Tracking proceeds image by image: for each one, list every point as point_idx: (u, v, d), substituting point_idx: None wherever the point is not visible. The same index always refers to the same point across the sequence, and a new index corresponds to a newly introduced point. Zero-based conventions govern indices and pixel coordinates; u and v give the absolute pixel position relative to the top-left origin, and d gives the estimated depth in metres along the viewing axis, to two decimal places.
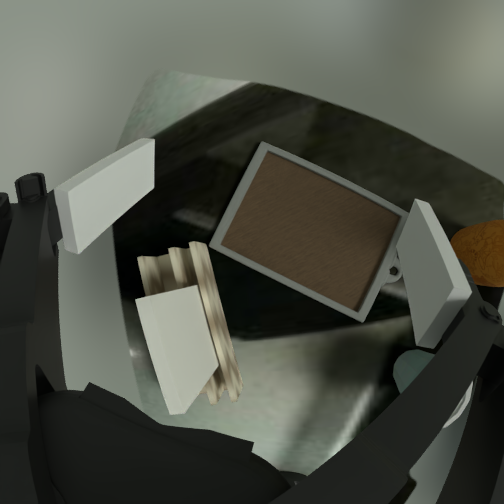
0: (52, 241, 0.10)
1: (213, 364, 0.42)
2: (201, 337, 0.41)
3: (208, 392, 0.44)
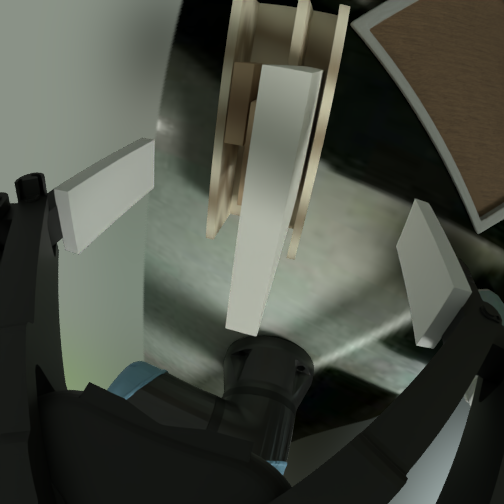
0: (52, 241, 0.10)
1: (294, 203, 0.27)
2: (303, 159, 0.23)
3: None
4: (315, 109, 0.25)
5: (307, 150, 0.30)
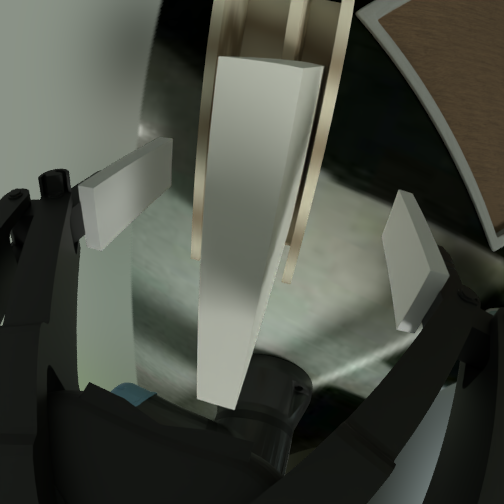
0: (74, 238, 0.11)
1: (289, 225, 0.23)
2: (299, 176, 0.19)
3: None
4: (315, 112, 0.21)
5: None
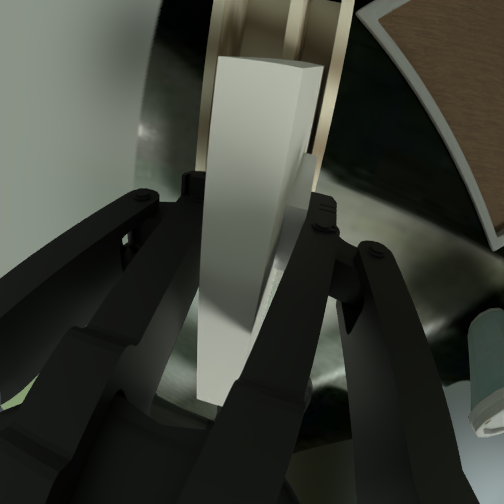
0: None
1: None
2: None
3: None
4: None
5: None
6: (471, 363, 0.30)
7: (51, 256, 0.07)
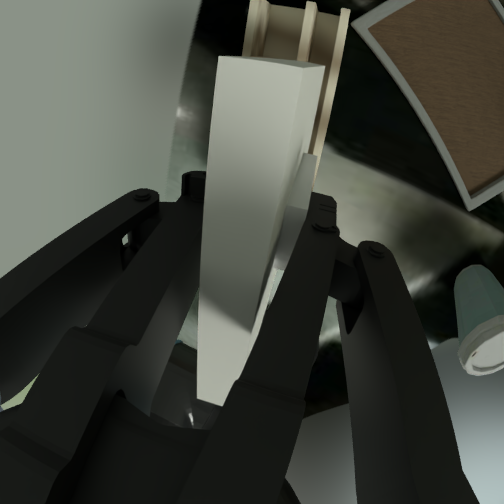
0: None
1: None
2: None
3: None
4: None
5: None
6: (457, 310, 0.38)
7: (51, 256, 0.07)
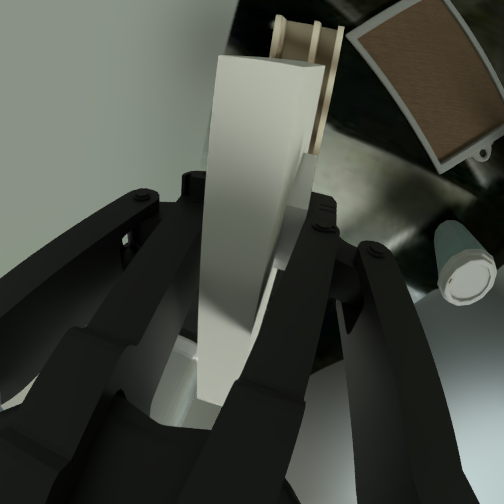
0: None
1: None
2: None
3: None
4: None
5: None
6: (436, 254, 0.49)
7: (51, 256, 0.07)
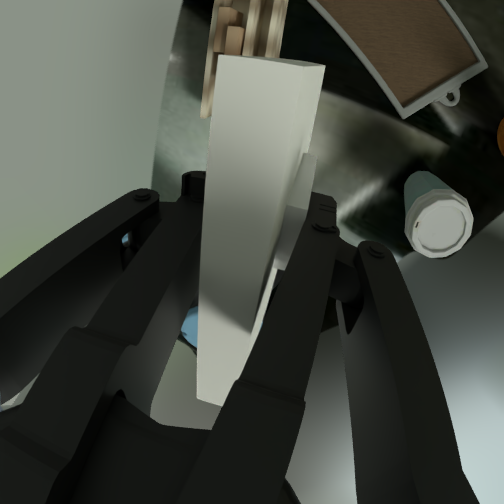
0: None
1: None
2: None
3: None
4: None
5: None
6: (405, 204, 0.46)
7: (51, 256, 0.07)
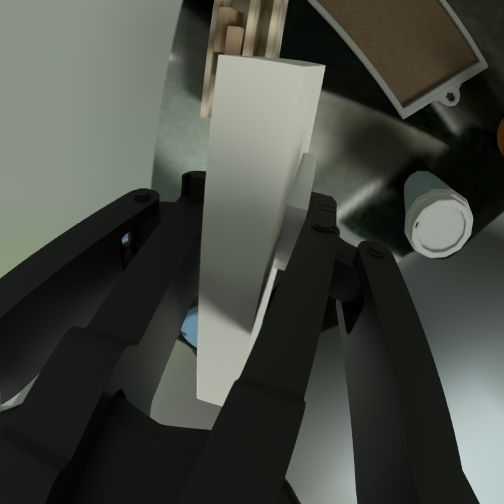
0: None
1: None
2: None
3: None
4: None
5: None
6: (405, 204, 0.46)
7: (51, 256, 0.07)
